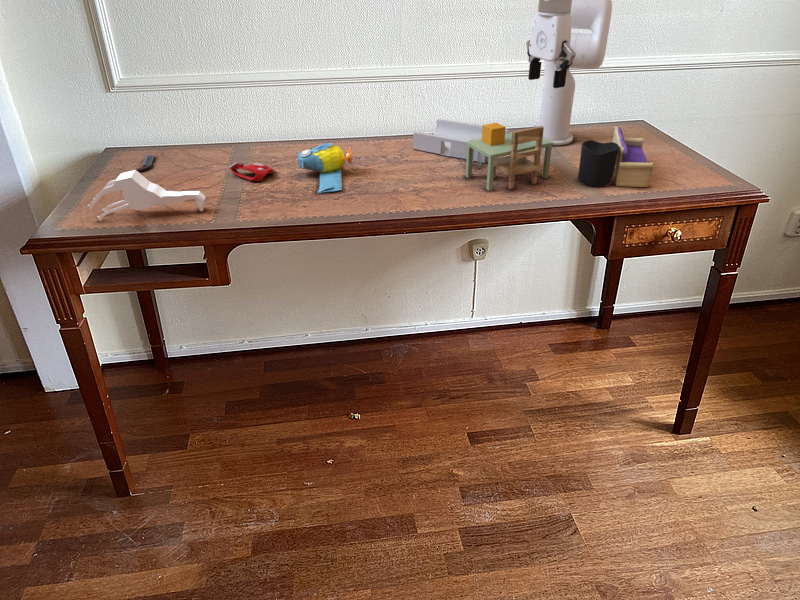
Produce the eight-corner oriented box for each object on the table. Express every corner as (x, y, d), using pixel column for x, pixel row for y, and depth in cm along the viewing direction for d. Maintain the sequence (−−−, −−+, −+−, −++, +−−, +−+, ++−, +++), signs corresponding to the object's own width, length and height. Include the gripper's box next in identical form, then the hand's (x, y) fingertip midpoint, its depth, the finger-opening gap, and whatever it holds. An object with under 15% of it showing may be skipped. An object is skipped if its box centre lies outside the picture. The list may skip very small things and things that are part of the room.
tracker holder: (271, 163, 176) (276, 167, 167) (270, 179, 177) (275, 183, 168) (228, 159, 172) (231, 162, 163) (227, 175, 173) (230, 179, 164)
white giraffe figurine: (124, 251, 153) (210, 210, 150) (80, 197, 144) (170, 153, 141) (129, 242, 158) (212, 202, 154) (86, 189, 149) (174, 146, 146)
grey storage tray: (508, 147, 188) (510, 121, 183) (478, 169, 173) (479, 141, 168) (438, 134, 199) (438, 109, 195) (404, 154, 184) (404, 127, 180)
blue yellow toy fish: (352, 159, 156) (293, 164, 155) (355, 190, 161) (298, 195, 160) (350, 126, 180) (299, 130, 179) (352, 154, 184) (302, 158, 183)
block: (481, 141, 163) (482, 124, 161) (495, 138, 165) (496, 122, 162) (490, 145, 160) (491, 129, 157) (504, 143, 161) (505, 126, 159)
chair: (489, 177, 167) (492, 122, 159) (515, 171, 171) (520, 117, 162) (510, 189, 160) (515, 132, 151) (537, 183, 163) (544, 127, 155)
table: (464, 176, 168) (466, 141, 163) (523, 163, 176) (526, 129, 170) (488, 191, 159) (490, 155, 154) (549, 177, 167) (553, 142, 161)
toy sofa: (649, 188, 159) (657, 151, 153) (614, 186, 161) (622, 149, 155) (639, 160, 176) (646, 125, 171) (608, 159, 178) (614, 124, 172)
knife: (149, 171, 176) (149, 168, 175) (135, 172, 175) (135, 170, 175) (156, 154, 187) (156, 152, 187) (143, 155, 187) (142, 153, 186)
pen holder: (593, 190, 159) (599, 153, 153) (569, 178, 166) (574, 143, 160) (619, 183, 162) (627, 147, 157) (595, 172, 169) (601, 137, 164)
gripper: (519, 4, 145) (513, 78, 154) (566, 12, 132) (556, 92, 141) (544, 1, 148) (536, 74, 157) (592, 9, 135) (581, 88, 144)
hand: (546, 83), depth 149 cm, fingers open, 9 cm apart
